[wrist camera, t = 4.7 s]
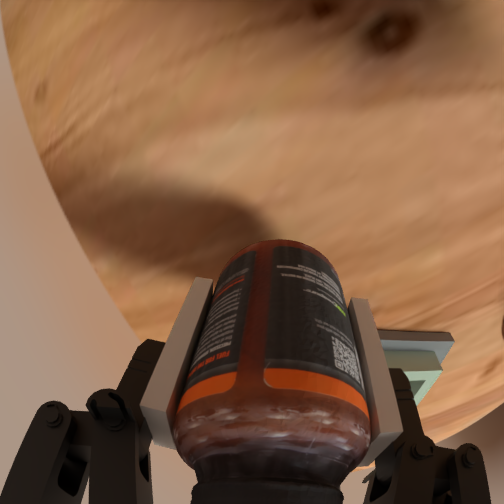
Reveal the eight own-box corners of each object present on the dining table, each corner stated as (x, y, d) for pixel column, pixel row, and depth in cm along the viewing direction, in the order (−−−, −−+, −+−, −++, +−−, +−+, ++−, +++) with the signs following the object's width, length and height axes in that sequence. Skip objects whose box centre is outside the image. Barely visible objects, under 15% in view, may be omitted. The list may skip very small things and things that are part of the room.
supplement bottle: (212, 319, 16) (151, 525, 6) (230, 220, 13) (125, 489, 3) (317, 342, 16) (322, 546, 6) (358, 251, 13) (432, 508, 4)
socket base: (287, 322, 19) (281, 529, 8) (449, 332, 19) (512, 479, 7) (257, 439, 27) (245, 551, 16) (372, 441, 27) (384, 543, 15)
